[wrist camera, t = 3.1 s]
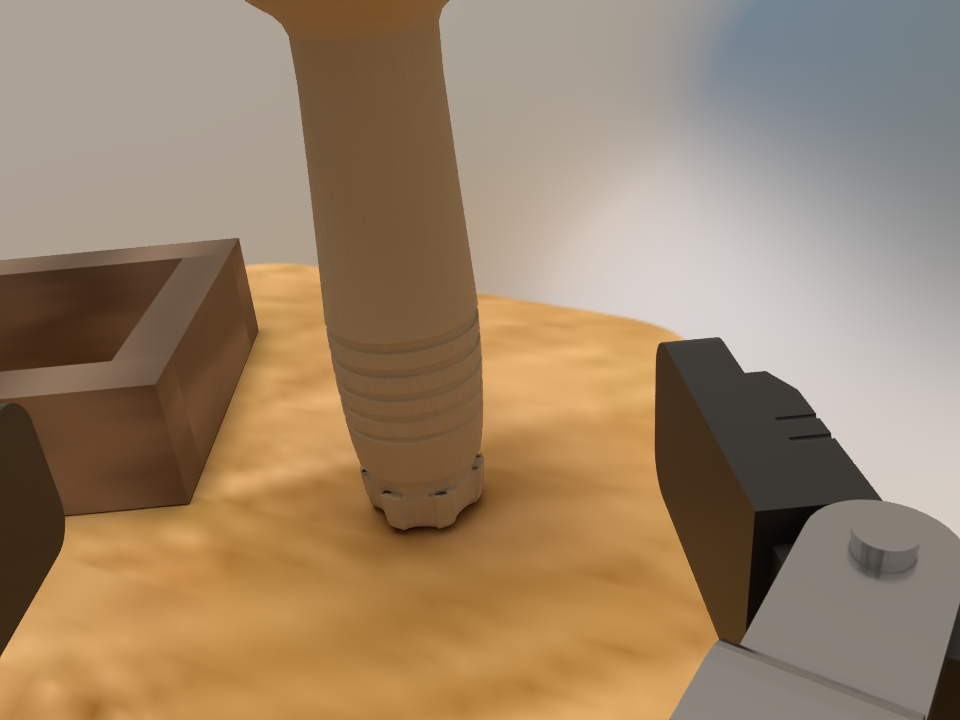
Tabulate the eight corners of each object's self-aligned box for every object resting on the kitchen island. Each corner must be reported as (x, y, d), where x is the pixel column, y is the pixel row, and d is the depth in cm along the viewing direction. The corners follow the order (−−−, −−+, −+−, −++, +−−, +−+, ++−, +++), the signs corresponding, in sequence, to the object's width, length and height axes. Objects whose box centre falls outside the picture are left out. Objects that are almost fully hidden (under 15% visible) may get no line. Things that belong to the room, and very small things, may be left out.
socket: (-222, 543, 26) (-288, 426, 24) (-33, 357, 36) (-68, 266, 35) (189, 503, 26) (155, 384, 24) (258, 329, 37) (238, 237, 35)
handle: (321, 581, 22) (183, -76, 16) (359, 443, 28) (271, -82, 21) (511, 573, 22) (456, -100, 15) (511, 435, 28) (471, -101, 21)
